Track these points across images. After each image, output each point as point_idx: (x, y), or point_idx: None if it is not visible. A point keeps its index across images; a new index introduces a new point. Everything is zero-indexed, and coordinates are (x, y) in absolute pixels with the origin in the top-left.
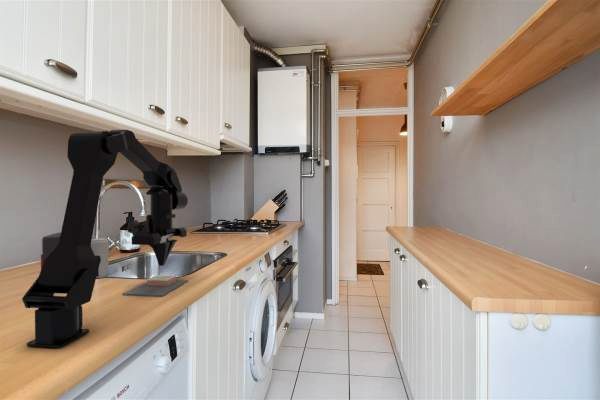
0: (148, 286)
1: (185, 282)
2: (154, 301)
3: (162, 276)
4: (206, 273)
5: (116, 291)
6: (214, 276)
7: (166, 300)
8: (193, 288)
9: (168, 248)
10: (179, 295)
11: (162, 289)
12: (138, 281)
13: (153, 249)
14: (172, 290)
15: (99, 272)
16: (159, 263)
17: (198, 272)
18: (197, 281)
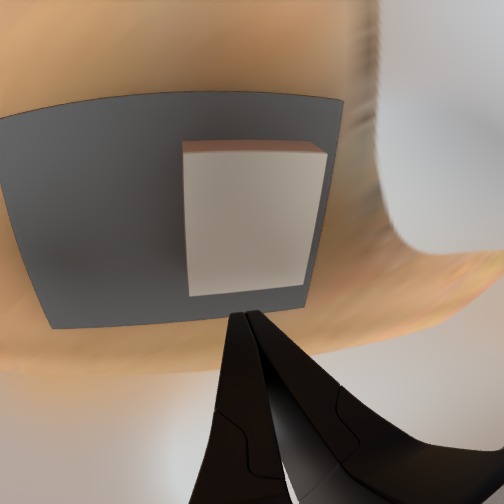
0: (153, 172)
1: (273, 308)
2: (5, 323)
3: (283, 217)
4: (420, 296)
5: (52, 12)
6: (368, 343)
7: (34, 351)
8: (193, 365)
9: (300, 491)
10: (96, 363)
11: (117, 288)
12: (314, 3)
13: (194, 489)
14: (136, 320)
15: None
16: (227, 333)
17: (445, 259)
18: (301, 332)
